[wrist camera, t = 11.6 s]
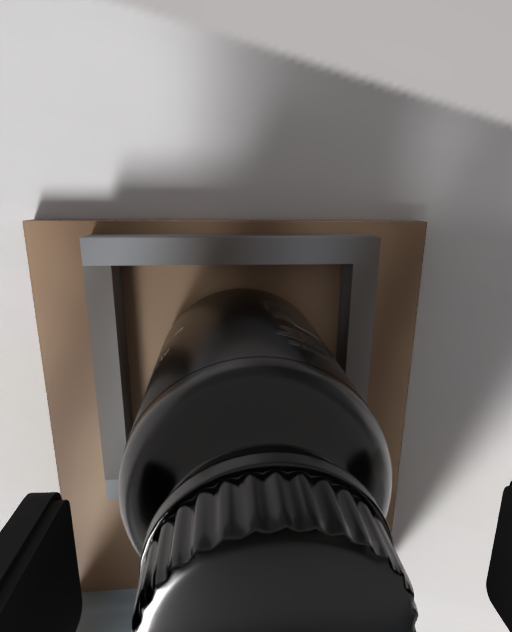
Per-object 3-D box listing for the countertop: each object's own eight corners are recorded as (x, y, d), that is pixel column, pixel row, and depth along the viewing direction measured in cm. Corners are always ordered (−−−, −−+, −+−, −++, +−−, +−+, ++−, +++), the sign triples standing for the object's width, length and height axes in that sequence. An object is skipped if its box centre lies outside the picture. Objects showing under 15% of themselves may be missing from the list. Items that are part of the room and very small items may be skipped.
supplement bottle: (136, 315, 17) (-28, 546, 6) (293, 263, 17) (446, 391, 6) (193, 451, 19) (156, 830, 8) (334, 405, 19) (510, 714, 8)
